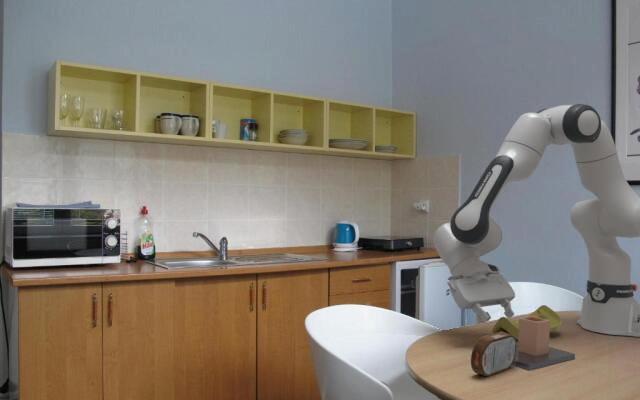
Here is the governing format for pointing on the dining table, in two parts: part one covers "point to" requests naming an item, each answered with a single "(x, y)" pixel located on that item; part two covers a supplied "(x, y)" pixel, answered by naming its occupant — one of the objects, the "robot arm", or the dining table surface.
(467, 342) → the dining table surface
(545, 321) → the sleeve
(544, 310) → the plastic component
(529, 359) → the base
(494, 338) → the tin
